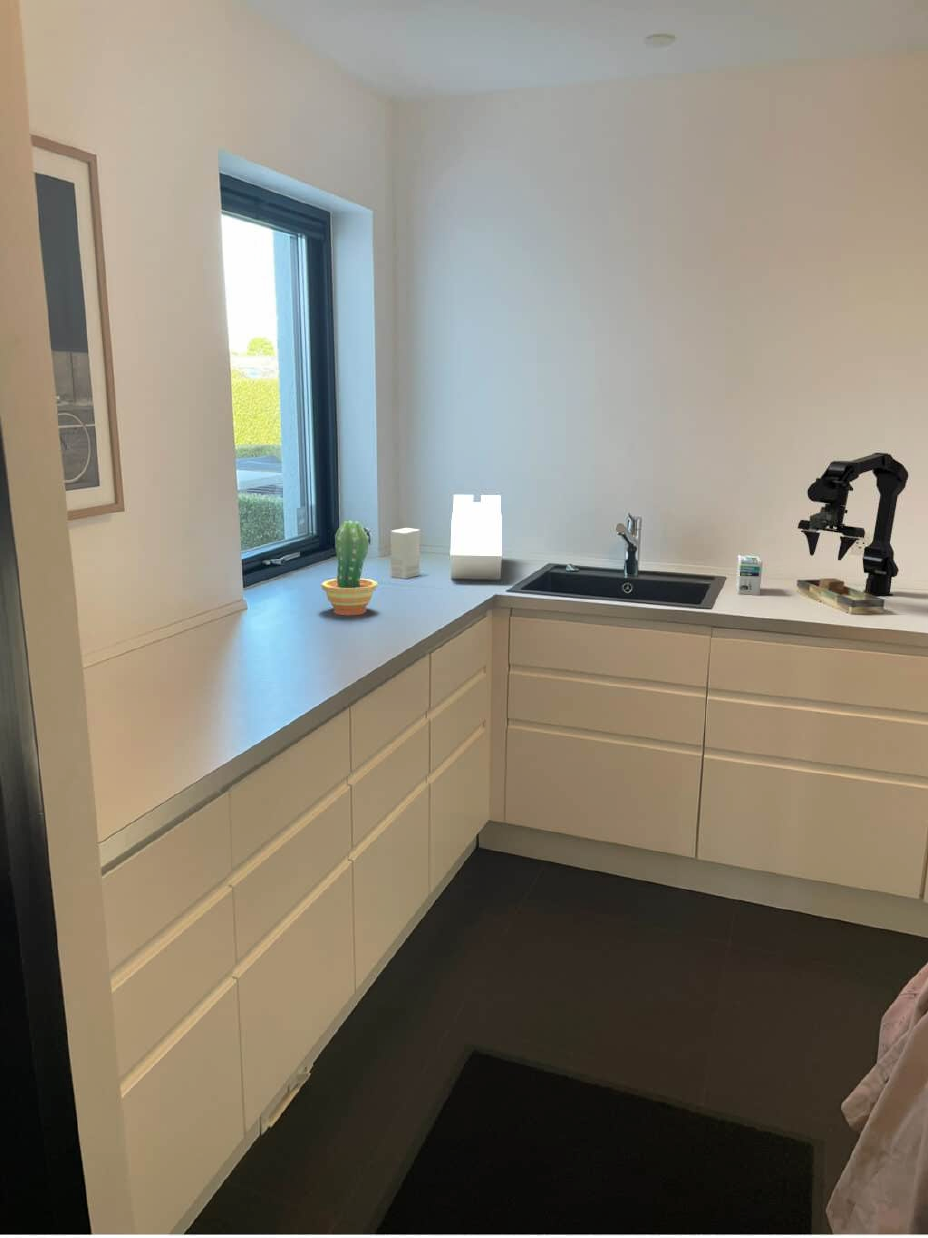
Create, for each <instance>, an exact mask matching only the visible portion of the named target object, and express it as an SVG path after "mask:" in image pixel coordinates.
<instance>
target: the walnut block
mask: <svg viewBox="0 0 928 1238" xmlns="http://www.w3.org/2000/svg"><path fill="white" fill-rule="evenodd" d="M844 586H845V581H843V580H841V579H838V578H836V577H835V578H834V577H833V578H820V584H819V587H821V588H823V589H826V590H829V591H832V592H834V593H837V594H840V595H843V589H844Z"/></svg>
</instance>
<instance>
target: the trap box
mask: <svg viewBox="0 0 928 1238" xmlns="http://www.w3.org/2000/svg"><path fill="white" fill-rule="evenodd" d="M820 579H821V578H820ZM820 579H819V578H818V579H797V580H796V592H798V593H797V594H799V593H800V594H799V595H801V594H803V595H802V596H804V595H805V596H804V597H806V596H807V598H809V599H812V600H813V601H816V600H819V601H821V602H823V603H822V604H824V603H825V604H824V605H826V604H828V605H827V606H829V605H830V607H831V606H832V607H831V608H835V609H836V608H837V610H839V611H841V610H843V611H842V612H844V611H846V612H848V613H847V614H849V613H850V614H849V615H874V614H879V613H881V614H883V613H884V607H885V600H886V599H884V598H881V597H879V596H874V595H871V594H868V593H865V592H863V591H861V590H858V589H855V588H853V587H849V586H847V585H844V589H843V595H840V594H837V593H834V592H832V591H829V590H826V589H823V588H821V587H819V584H820ZM796 592H795V593H796ZM819 601H818V602H819ZM821 602H820V603H821ZM846 612H845V613H846Z"/></svg>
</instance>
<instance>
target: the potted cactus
mask: <svg viewBox="0 0 928 1238" xmlns="http://www.w3.org/2000/svg"><path fill="white" fill-rule="evenodd" d="M372 539H373V535H372V533H371V530H370V528H368V527H367V526H365V525H364V524H361V523H360V521H357V520H356V521H354V522H353V521H352V520H348V521H343V522H342V524H341V525H340V527H339V528H338V529H337V531H336V533H335V535H334V543H335V544H334V545H335V553H336V557H337V575H336V578H331V579H328V580H325V581H323V582H322V583H321V588H322V590H323V591H324V593H325V594H326V597H327V599H328V602H329V603H330V604H331V606H332V607H333V609H334V610H333V613H335V614H337V615H339V616H341V615H343V616H357V615H363V614H365V613H367V609H366V608H367V606H368V605H369V603H370V601H371V598H372V596H373V593H374V591H376V590H377V586H378V582H377V581H375V580H373V579H370V578H369V579H367V578H361V576H362V571H363V566H364V562H365V560H366V557H367V556H368V553H369V551H368V549H369V546H372Z"/></svg>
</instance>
